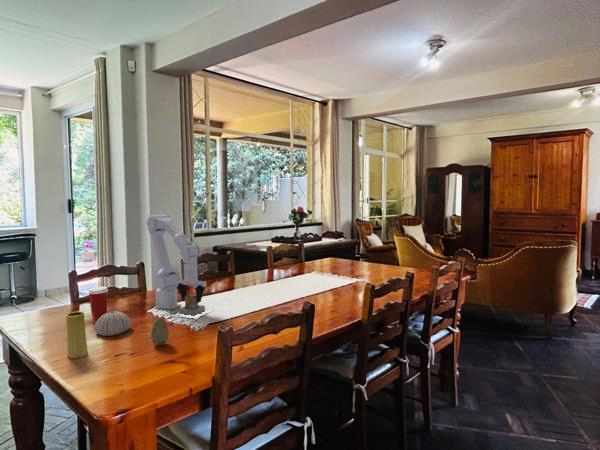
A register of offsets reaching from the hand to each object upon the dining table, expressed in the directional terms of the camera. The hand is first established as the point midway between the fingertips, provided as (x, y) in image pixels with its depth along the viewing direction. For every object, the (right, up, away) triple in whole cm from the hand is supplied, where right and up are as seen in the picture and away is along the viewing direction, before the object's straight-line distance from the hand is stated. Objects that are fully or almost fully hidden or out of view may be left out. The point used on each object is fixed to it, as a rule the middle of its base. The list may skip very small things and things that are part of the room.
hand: (191, 301), depth 183 cm
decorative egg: (-1, -9, -37) cm, 38 cm away
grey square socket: (0, -6, +1) cm, 6 cm away
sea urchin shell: (-25, -8, -22) cm, 34 cm away
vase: (-27, -10, -45) cm, 53 cm away
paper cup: (-37, -7, -9) cm, 39 cm away
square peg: (0, -5, 0) cm, 5 cm away
